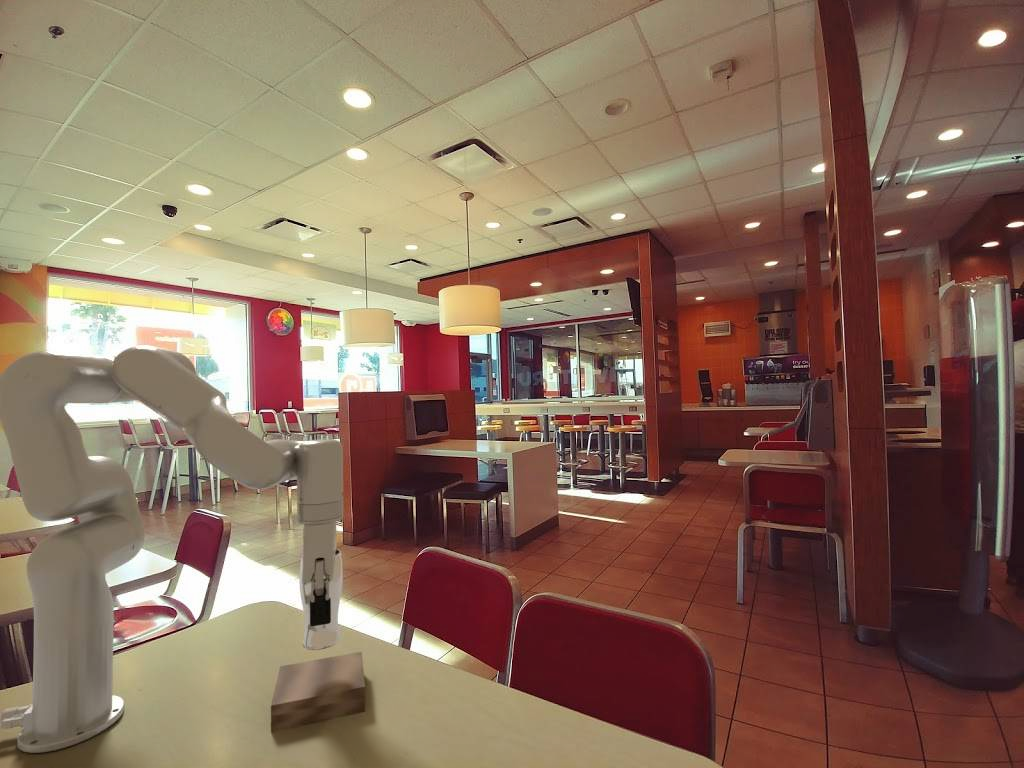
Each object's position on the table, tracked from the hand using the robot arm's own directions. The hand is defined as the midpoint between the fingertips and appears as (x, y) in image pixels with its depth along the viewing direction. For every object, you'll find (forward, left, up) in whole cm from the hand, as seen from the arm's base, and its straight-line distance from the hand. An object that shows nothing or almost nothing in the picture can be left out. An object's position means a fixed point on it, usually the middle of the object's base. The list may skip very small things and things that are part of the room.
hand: (321, 614), depth 83 cm
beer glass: (0, 0, -5) cm, 5 cm away
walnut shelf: (0, 0, -14) cm, 14 cm away
